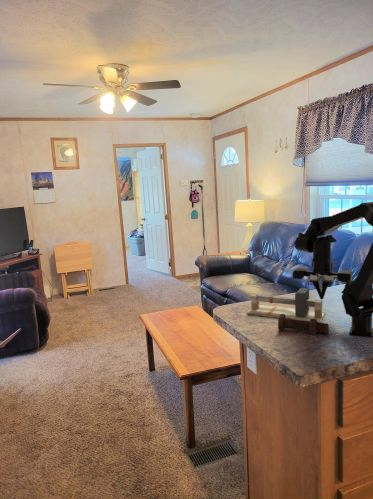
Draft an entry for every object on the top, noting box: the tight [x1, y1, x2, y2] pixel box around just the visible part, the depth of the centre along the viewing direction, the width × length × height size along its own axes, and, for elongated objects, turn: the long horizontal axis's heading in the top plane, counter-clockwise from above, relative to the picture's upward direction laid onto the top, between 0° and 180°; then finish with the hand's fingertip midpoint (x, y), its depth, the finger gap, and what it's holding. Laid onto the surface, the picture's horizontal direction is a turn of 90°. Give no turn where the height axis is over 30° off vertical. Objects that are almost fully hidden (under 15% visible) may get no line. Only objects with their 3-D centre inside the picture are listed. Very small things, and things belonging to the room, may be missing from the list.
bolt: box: [277, 314, 330, 335], centre depth 120 cm, size 6×5×15 cm
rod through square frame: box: [246, 293, 327, 323], centre depth 137 cm, size 10×26×6 cm, turn 60°
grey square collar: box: [294, 287, 310, 317], centre depth 134 cm, size 8×3×8 cm, turn 150°
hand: (321, 299), depth 130 cm, fingers closed
